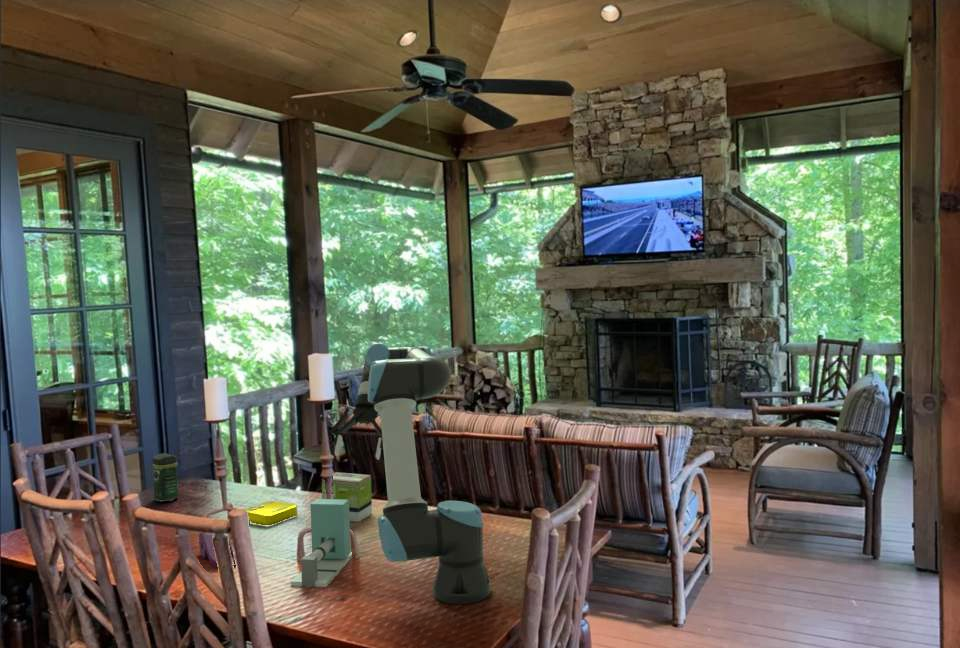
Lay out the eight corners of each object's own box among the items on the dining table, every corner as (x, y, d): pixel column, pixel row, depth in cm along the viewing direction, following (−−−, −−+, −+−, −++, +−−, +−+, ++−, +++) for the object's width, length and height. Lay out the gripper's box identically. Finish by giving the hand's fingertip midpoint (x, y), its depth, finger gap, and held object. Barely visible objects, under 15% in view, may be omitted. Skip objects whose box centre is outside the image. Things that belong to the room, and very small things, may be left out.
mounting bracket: (244, 580, 205) (229, 539, 218) (246, 559, 202) (231, 519, 215) (211, 588, 200) (198, 546, 213) (213, 566, 196) (200, 525, 209)
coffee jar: (181, 499, 272) (180, 453, 271) (161, 504, 266) (160, 457, 265) (170, 495, 278) (168, 450, 277) (151, 500, 272) (149, 454, 271)
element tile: (268, 528, 235) (267, 515, 235) (238, 522, 242) (237, 509, 242) (299, 516, 248) (299, 503, 248) (270, 511, 255) (270, 498, 255)
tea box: (321, 519, 242) (320, 478, 242) (336, 511, 252) (335, 471, 251) (359, 522, 237) (358, 480, 237) (372, 514, 247) (371, 473, 246)
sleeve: (318, 551, 205) (316, 499, 204) (350, 552, 203) (348, 499, 203) (312, 557, 200) (310, 503, 199) (344, 558, 198) (343, 504, 198)
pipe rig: (324, 553, 209) (323, 528, 209) (355, 553, 208) (354, 528, 207) (290, 586, 185) (289, 558, 185) (325, 587, 184) (325, 559, 183)
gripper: (406, 404, 234) (396, 463, 222) (335, 400, 236) (322, 458, 225) (403, 394, 227) (392, 455, 216) (330, 390, 230) (316, 449, 219)
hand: (356, 456), depth 220 cm, fingers open, 13 cm apart
